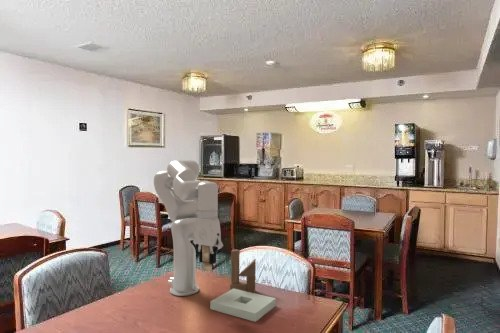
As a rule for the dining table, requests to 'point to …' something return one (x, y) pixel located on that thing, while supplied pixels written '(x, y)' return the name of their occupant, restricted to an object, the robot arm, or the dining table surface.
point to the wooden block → (242, 274)
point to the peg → (206, 258)
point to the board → (243, 304)
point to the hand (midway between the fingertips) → (207, 262)
